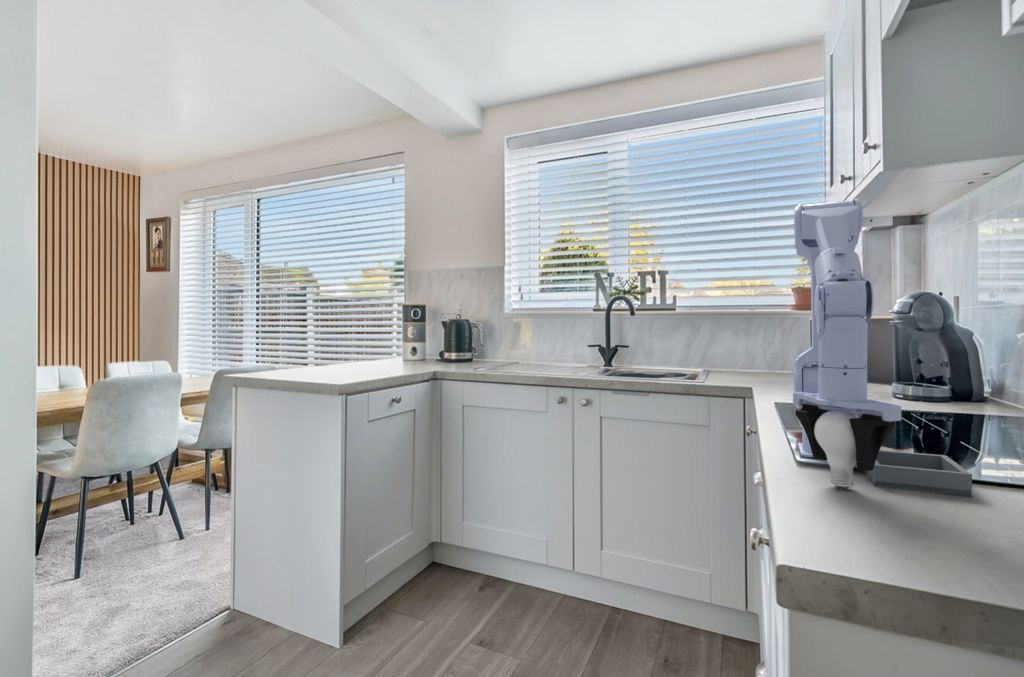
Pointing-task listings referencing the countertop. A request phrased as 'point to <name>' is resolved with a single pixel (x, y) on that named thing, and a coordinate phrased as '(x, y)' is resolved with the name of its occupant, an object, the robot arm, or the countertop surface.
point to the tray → (920, 473)
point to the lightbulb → (837, 445)
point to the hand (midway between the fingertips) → (841, 463)
